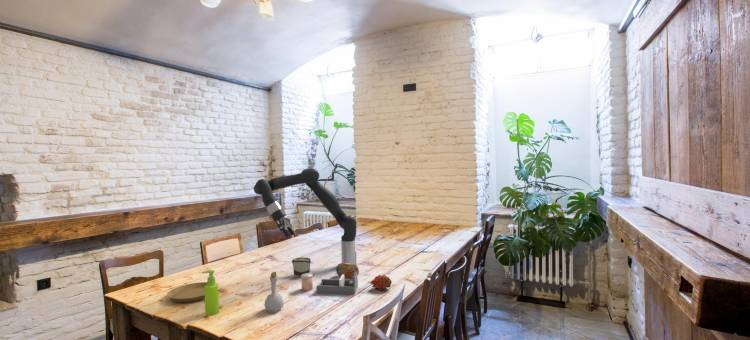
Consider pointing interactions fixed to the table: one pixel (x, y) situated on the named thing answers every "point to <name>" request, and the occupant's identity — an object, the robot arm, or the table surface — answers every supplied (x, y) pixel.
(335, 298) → the table surface
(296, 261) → the food container
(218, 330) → the table surface
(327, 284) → the grey low-walled tray
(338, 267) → the brown lumpy slab
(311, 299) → the table surface
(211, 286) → the soap dispenser
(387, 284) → the dragon fruit
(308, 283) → the jar
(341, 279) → the pusher
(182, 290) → the plant saucer
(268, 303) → the potion bottle
